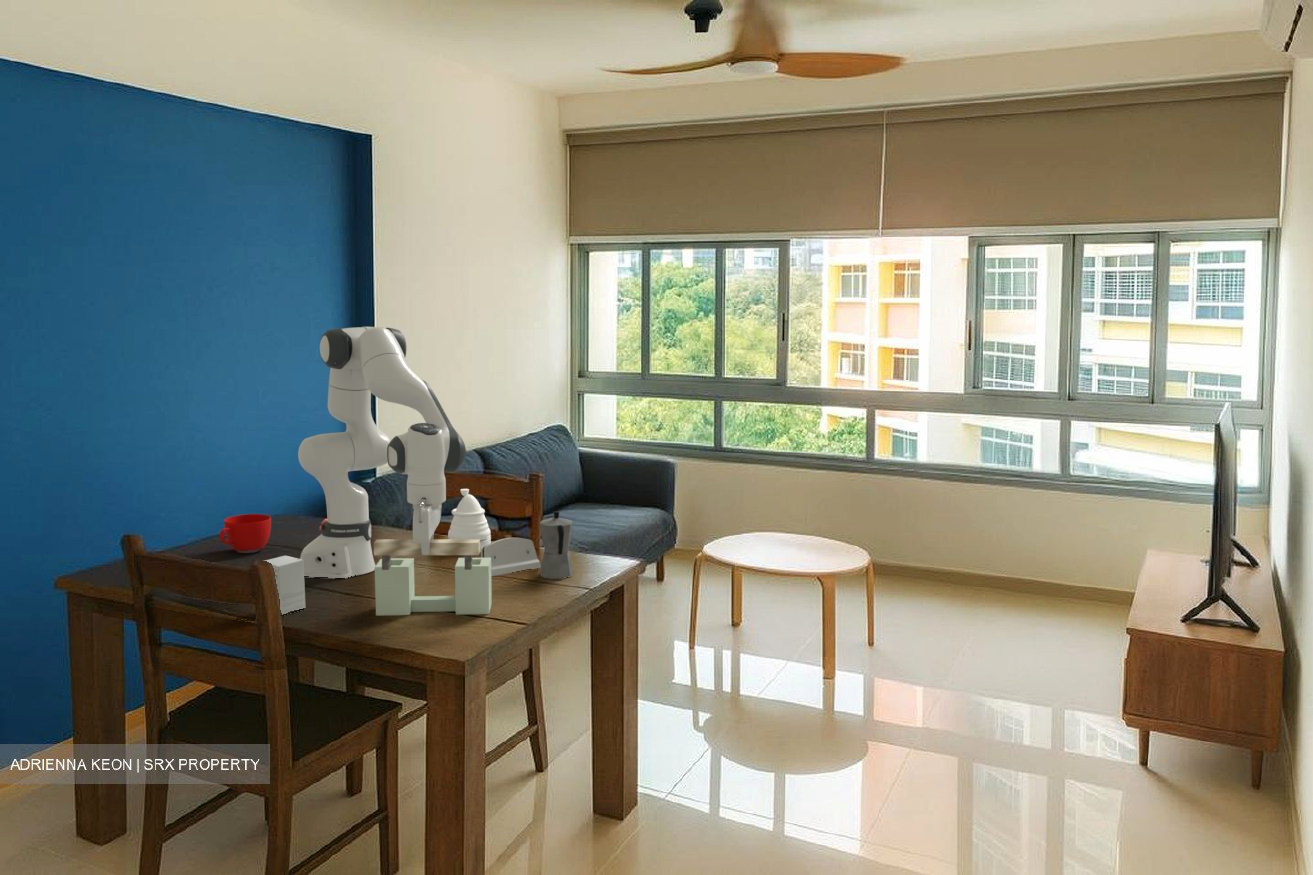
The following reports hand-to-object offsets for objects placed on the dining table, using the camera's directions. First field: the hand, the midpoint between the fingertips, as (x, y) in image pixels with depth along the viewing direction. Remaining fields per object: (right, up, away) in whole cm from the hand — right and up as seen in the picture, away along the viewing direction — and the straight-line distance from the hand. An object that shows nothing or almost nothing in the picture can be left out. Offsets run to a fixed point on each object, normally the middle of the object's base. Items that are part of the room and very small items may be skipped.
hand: (427, 551), depth 237 cm
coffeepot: (+26, -12, +43) cm, 52 cm away
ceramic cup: (-69, -8, +63) cm, 94 cm away
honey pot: (-3, -7, +72) cm, 73 cm away
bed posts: (-1, -16, +12) cm, 20 cm away
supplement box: (-37, -16, +10) cm, 42 cm away
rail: (0, -4, +1) cm, 4 cm away
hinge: (+12, -11, +50) cm, 52 cm away
